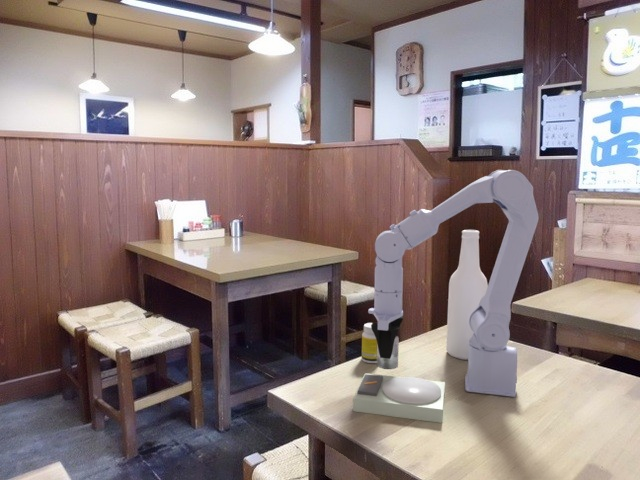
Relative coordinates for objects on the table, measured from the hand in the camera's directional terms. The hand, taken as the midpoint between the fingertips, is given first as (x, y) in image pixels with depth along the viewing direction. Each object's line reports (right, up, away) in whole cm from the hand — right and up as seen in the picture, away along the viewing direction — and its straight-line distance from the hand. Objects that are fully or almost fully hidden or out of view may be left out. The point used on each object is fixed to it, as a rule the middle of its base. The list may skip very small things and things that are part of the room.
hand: (387, 353), depth 107 cm
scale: (+1, -7, -9) cm, 12 cm away
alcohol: (+21, -4, +17) cm, 27 cm away
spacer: (0, -3, 0) cm, 3 cm away
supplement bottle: (-2, -5, +13) cm, 14 cm away
